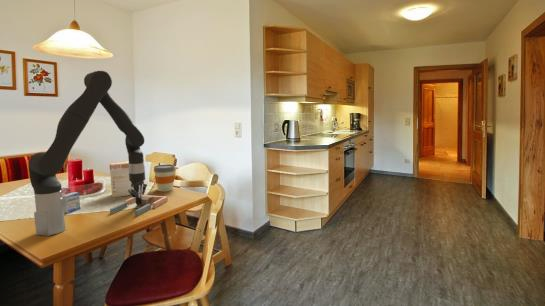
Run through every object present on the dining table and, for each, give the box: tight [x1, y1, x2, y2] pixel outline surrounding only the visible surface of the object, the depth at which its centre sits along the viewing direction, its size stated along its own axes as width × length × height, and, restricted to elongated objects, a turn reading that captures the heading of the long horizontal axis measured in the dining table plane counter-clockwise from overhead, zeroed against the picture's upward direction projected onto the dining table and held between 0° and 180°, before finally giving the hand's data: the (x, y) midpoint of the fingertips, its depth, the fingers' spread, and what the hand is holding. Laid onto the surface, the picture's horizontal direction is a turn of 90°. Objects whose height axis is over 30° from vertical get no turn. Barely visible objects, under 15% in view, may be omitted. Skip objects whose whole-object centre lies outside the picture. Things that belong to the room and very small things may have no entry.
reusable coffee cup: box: [153, 164, 176, 192], centre depth 196 cm, size 13×13×15 cm
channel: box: [109, 201, 152, 217], centre depth 156 cm, size 11×15×2 cm
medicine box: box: [62, 191, 81, 214], centre depth 156 cm, size 8×4×9 cm, turn 168°
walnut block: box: [136, 195, 155, 207], centre depth 167 cm, size 6×6×4 cm
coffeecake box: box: [109, 160, 131, 198], centre depth 185 cm, size 15×7×20 cm, turn 114°
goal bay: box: [123, 194, 169, 209], centre depth 169 cm, size 12×18×2 cm
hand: (138, 204), depth 162 cm, fingers closed
